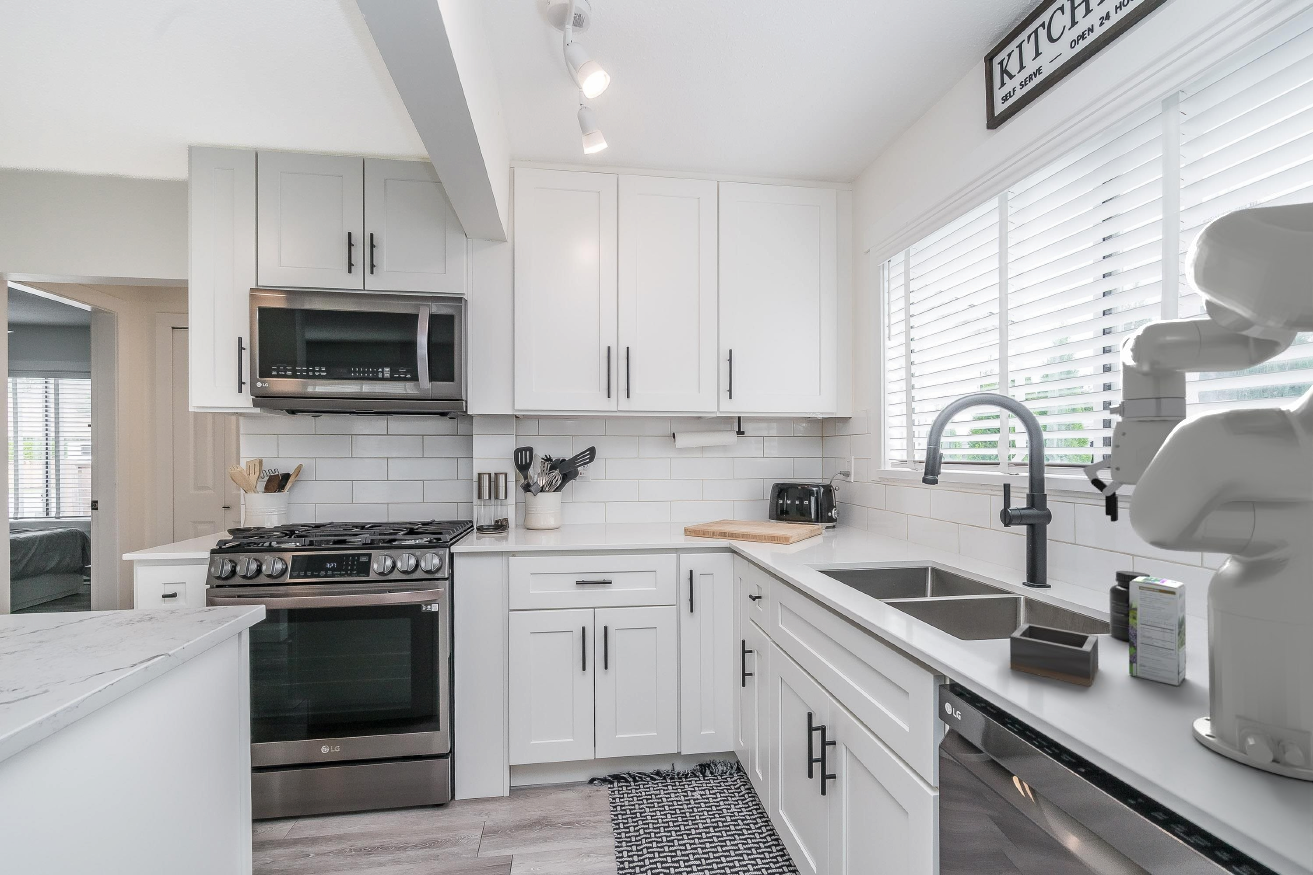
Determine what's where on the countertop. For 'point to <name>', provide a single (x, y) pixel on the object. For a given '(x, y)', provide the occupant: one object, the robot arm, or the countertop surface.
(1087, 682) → the socket block
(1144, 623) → the syrup box
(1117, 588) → the supplement bottle
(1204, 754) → the countertop surface
